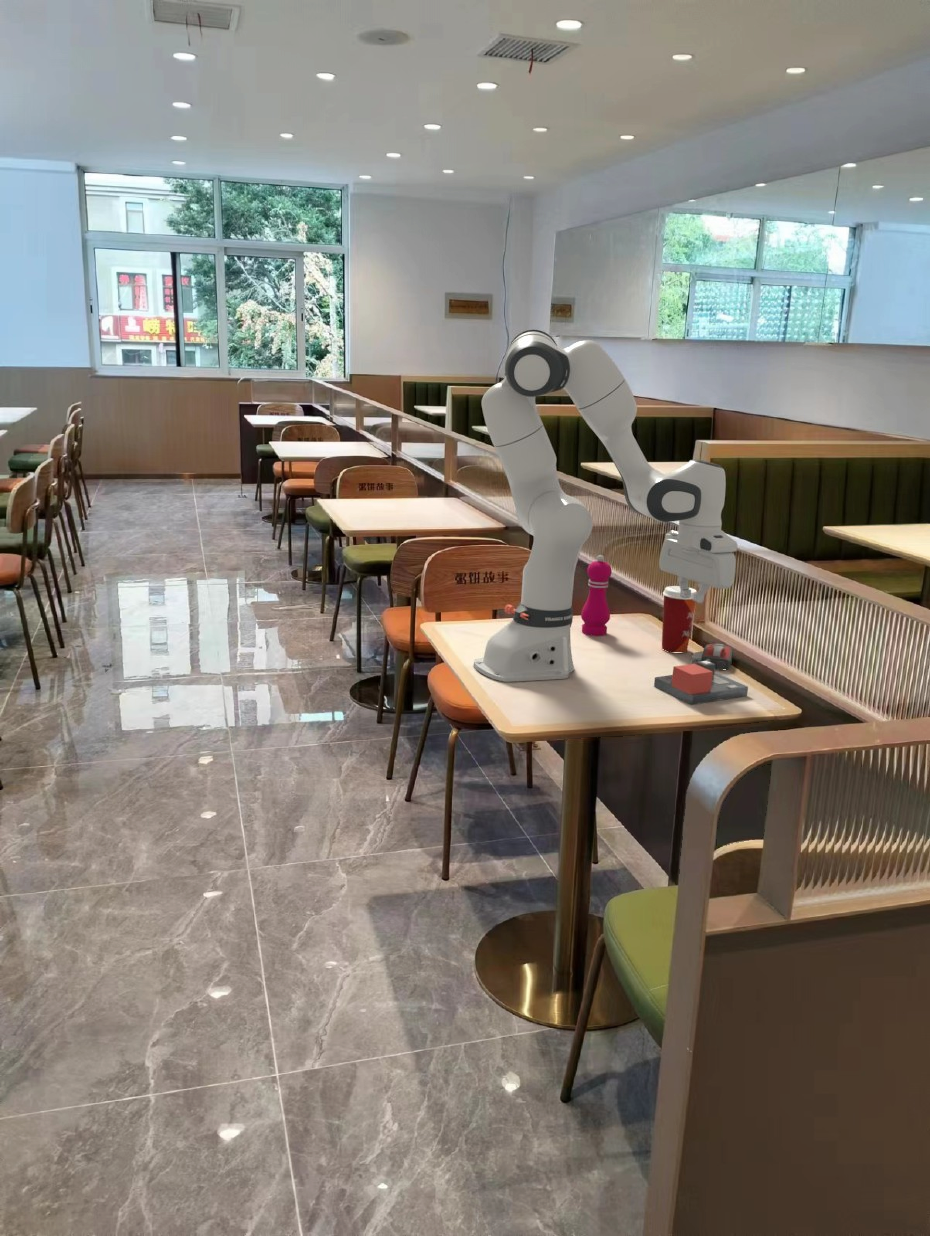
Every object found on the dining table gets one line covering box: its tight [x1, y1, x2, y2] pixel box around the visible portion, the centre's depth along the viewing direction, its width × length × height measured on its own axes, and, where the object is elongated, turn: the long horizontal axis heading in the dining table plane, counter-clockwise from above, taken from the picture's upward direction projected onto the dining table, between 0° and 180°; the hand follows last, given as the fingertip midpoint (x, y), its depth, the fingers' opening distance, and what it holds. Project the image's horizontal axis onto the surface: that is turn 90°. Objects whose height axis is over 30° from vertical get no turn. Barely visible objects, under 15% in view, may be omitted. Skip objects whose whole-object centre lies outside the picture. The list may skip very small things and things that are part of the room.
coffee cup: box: [661, 585, 698, 653], centre depth 230 cm, size 8×8×15 cm
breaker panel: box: [653, 672, 749, 705], centre depth 202 cm, size 15×12×3 cm
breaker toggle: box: [696, 661, 716, 675], centre depth 206 cm, size 3×3×3 cm
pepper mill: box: [580, 554, 612, 637], centre depth 240 cm, size 7×7×20 cm
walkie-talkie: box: [690, 643, 734, 671], centre depth 220 cm, size 9×4×20 cm
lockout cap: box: [671, 663, 713, 694], centre depth 197 cm, size 6×6×4 cm
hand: (691, 599), depth 209 cm, fingers open, 3 cm apart
